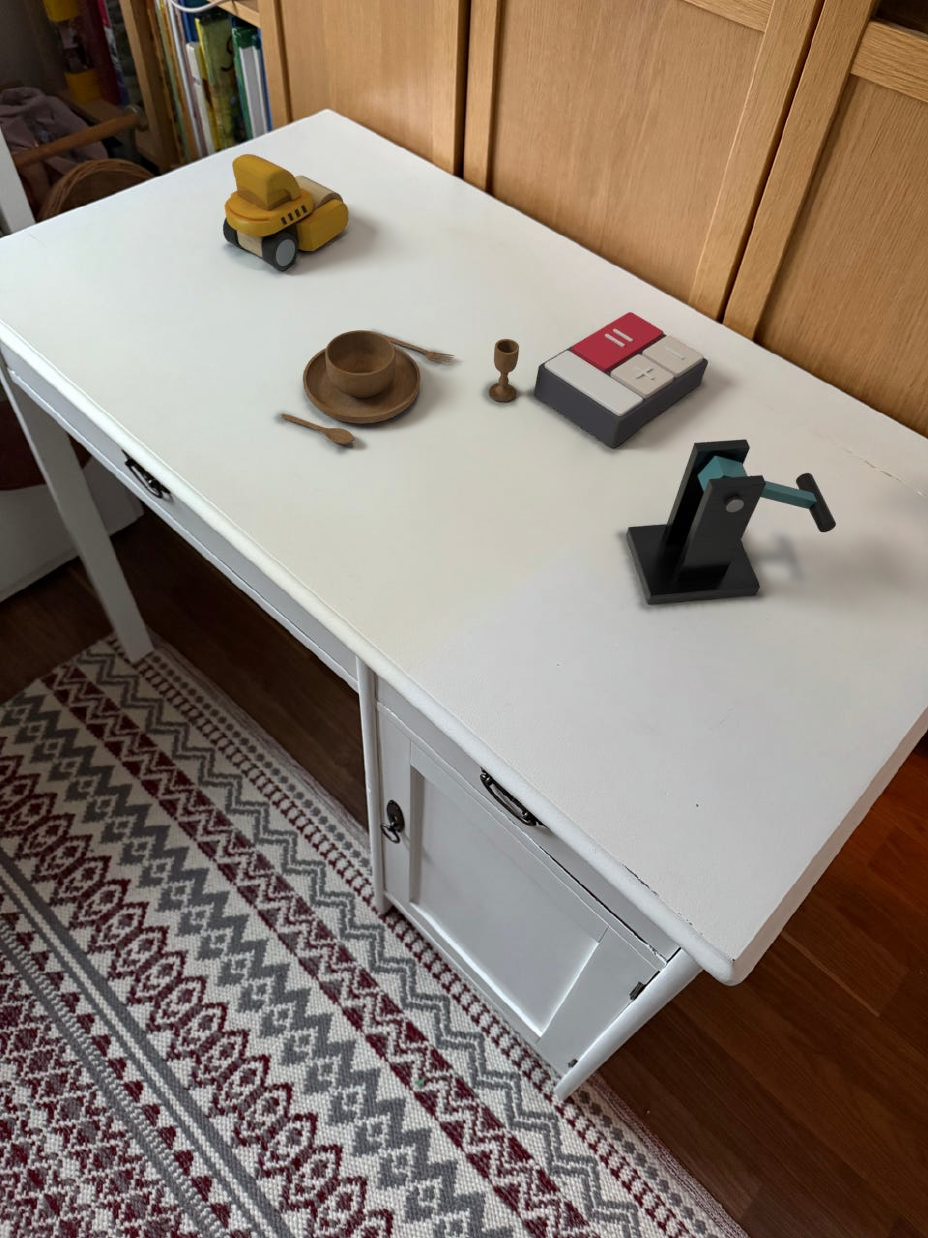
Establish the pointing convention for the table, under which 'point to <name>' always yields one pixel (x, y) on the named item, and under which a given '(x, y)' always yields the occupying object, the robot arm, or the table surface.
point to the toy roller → (280, 212)
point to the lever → (777, 490)
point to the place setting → (378, 379)
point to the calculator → (619, 378)
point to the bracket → (701, 534)
